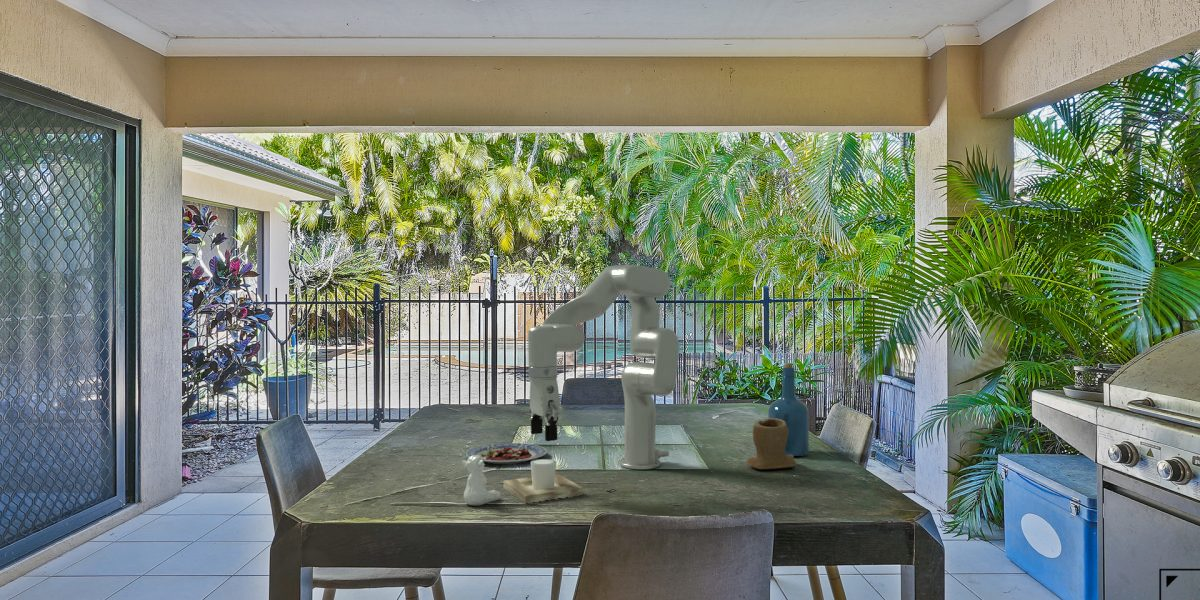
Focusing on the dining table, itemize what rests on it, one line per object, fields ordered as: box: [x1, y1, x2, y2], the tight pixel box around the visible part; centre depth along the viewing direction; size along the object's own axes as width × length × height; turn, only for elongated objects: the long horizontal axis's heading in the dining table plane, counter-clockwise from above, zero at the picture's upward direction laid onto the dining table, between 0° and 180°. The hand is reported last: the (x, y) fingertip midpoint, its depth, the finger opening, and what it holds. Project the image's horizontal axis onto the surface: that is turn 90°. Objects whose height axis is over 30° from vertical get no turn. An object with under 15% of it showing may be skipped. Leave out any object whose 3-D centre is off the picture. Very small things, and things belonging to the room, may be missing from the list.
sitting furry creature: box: [461, 455, 502, 506], centre depth 171 cm, size 10×9×12 cm
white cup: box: [530, 458, 557, 490], centre depth 180 cm, size 7×7×7 cm
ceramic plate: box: [465, 442, 548, 465], centre depth 219 cm, size 26×26×3 cm
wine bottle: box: [767, 362, 810, 458], centre depth 226 cm, size 14×13×30 cm
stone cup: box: [746, 417, 798, 470], centre depth 206 cm, size 15×12×15 cm
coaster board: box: [502, 473, 584, 505], centre depth 180 cm, size 16×16×2 cm
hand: (543, 436), depth 181 cm, fingers open, 9 cm apart
